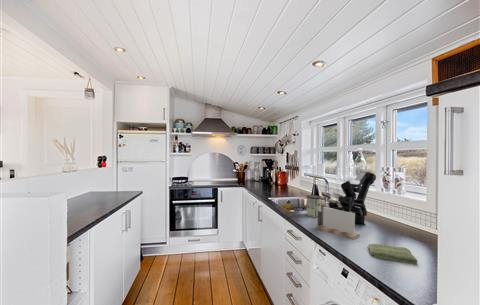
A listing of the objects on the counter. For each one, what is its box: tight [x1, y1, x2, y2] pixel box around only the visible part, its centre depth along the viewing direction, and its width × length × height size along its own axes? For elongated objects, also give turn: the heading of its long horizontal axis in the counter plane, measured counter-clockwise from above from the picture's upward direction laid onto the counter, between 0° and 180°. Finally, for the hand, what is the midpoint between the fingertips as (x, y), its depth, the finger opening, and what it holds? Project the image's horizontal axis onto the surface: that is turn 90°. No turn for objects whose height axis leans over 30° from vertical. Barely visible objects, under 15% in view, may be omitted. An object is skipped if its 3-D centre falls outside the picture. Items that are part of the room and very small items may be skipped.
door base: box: [314, 209, 361, 240], centre depth 132 cm, size 23×8×10 cm, turn 41°
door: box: [321, 206, 356, 234], centre depth 132 cm, size 20×1×11 cm, turn 41°
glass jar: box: [305, 194, 322, 218], centre depth 167 cm, size 10×10×14 cm
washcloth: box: [367, 243, 418, 265], centre depth 103 cm, size 13×18×3 cm
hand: (340, 220), depth 132 cm, fingers closed
